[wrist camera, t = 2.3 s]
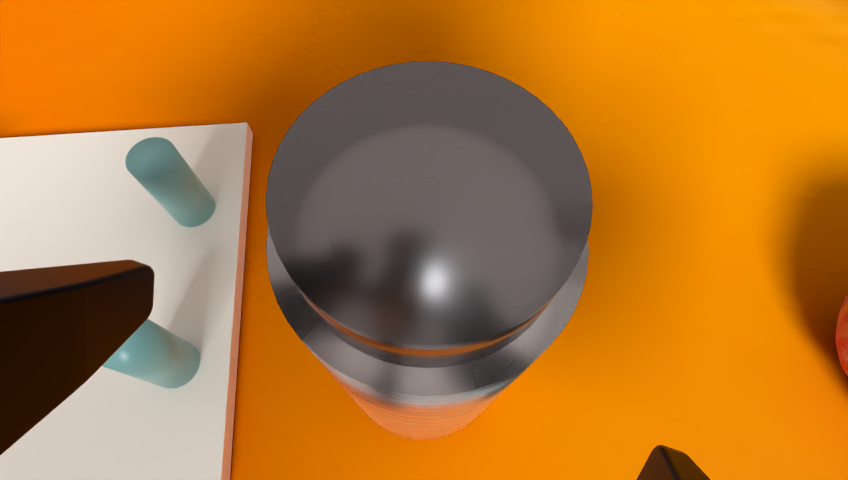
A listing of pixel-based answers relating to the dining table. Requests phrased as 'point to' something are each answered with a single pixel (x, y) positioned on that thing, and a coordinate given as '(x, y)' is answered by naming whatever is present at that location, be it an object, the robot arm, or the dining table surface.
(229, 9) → the dining table surface
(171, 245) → the tray
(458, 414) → the shaker
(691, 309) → the dining table surface
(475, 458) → the dining table surface
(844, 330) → the pomegranate
